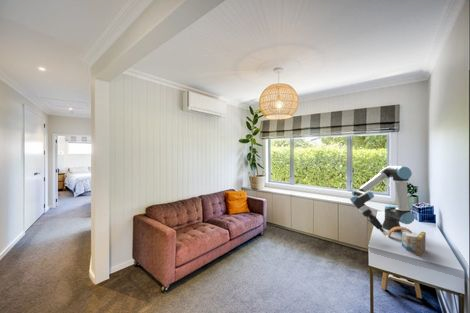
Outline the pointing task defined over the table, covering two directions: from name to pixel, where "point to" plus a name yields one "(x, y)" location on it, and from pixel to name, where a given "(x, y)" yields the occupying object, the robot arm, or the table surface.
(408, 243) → the ink box
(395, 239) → the table surface
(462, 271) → the table surface
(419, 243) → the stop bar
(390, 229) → the arch
